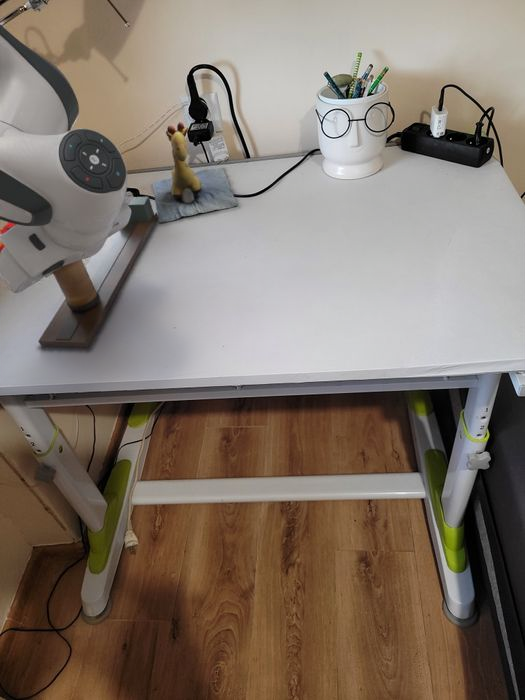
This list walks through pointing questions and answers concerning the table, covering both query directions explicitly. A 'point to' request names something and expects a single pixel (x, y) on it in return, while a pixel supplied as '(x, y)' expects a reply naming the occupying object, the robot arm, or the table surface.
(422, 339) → the table surface
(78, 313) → the track board
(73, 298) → the upright wooden cylinder
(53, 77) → the robot arm
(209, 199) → the stuffed giraffe
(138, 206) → the stop block
